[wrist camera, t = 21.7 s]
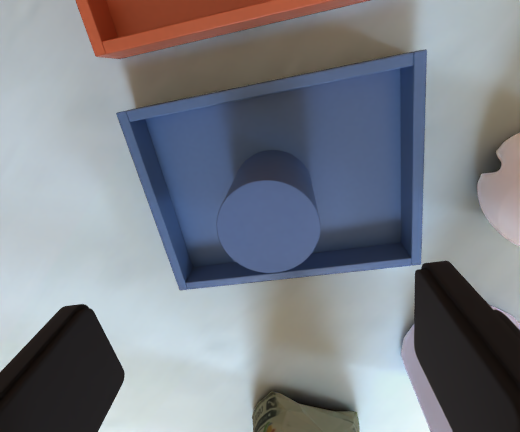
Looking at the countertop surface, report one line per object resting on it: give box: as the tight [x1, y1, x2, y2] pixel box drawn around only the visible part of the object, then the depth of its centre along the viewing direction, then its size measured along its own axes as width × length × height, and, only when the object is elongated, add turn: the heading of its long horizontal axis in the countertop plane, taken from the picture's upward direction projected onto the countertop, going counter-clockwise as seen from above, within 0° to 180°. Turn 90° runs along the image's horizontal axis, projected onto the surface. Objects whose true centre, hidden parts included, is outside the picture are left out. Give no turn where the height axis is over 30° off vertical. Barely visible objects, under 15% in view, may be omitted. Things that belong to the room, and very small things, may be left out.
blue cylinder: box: [216, 150, 321, 273], centre depth 17 cm, size 5×5×6 cm
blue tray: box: [116, 50, 427, 290], centre depth 19 cm, size 16×12×2 cm
